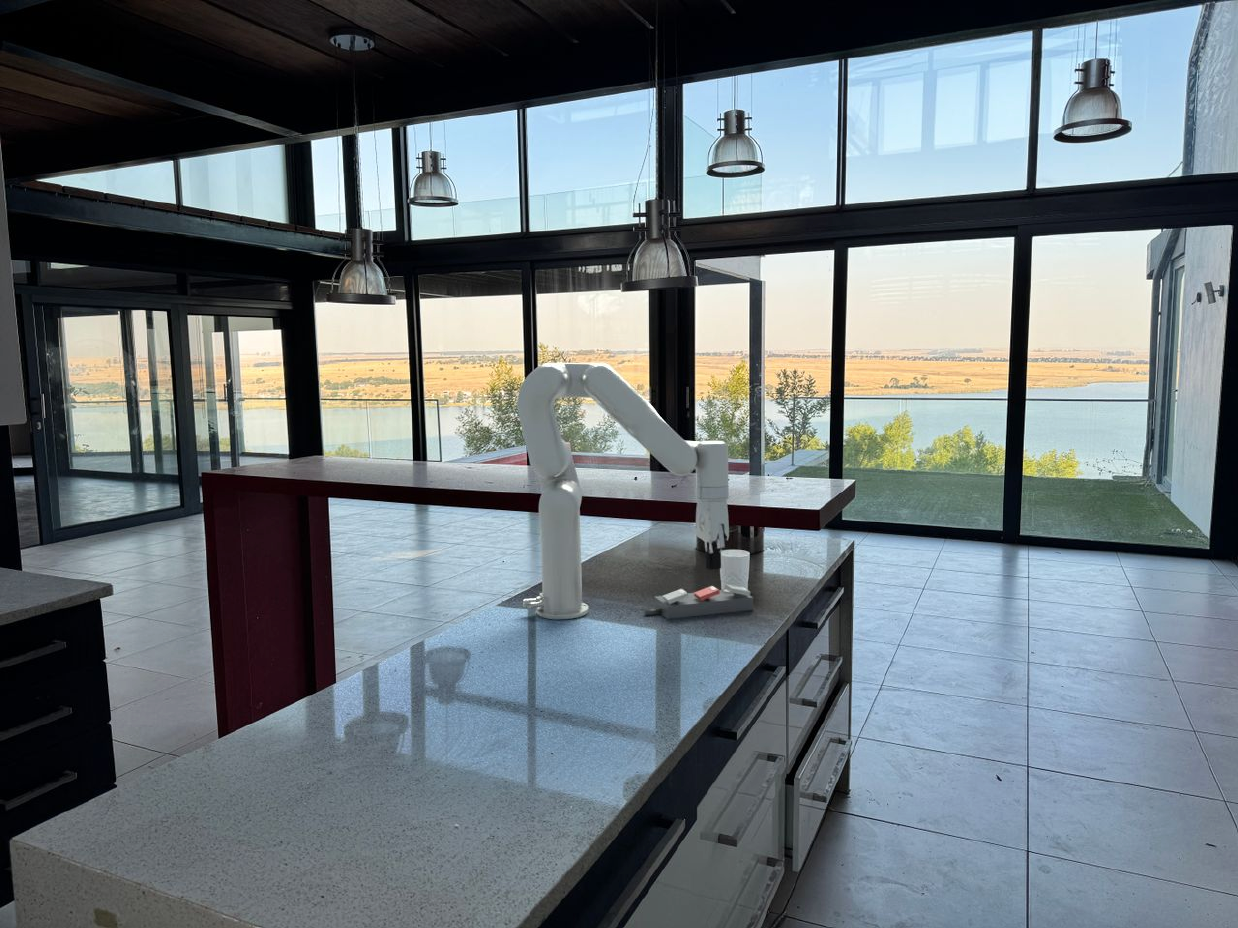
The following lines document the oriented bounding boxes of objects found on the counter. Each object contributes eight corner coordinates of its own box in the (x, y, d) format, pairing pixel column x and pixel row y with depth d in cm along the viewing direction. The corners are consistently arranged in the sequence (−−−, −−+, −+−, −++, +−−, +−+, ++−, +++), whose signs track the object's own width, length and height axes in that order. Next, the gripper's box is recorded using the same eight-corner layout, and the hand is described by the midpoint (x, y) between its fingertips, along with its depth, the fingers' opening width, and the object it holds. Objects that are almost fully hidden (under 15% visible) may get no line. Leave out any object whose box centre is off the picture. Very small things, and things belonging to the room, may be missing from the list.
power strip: (651, 620, 200) (651, 605, 199) (639, 610, 208) (639, 595, 208) (753, 609, 207) (753, 595, 207) (737, 599, 216) (737, 585, 215)
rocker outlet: (731, 592, 205) (732, 587, 205) (724, 588, 209) (725, 583, 209) (749, 595, 207) (750, 591, 207) (742, 591, 211) (743, 587, 211)
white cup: (751, 594, 221) (751, 556, 219) (720, 594, 221) (720, 556, 219) (747, 586, 228) (747, 549, 227) (717, 586, 229) (717, 549, 227)
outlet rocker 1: (669, 604, 201) (668, 599, 201) (663, 599, 205) (662, 595, 205) (688, 596, 202) (687, 592, 202) (682, 592, 206) (681, 588, 206)
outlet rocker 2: (701, 600, 203) (700, 596, 203) (694, 596, 207) (693, 592, 207) (719, 593, 205) (718, 589, 204) (713, 589, 208) (712, 585, 208)
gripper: (686, 489, 209) (687, 563, 212) (710, 498, 195) (711, 577, 197) (714, 487, 211) (715, 560, 214) (740, 496, 197) (741, 574, 199)
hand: (713, 568), depth 205 cm, fingers closed
